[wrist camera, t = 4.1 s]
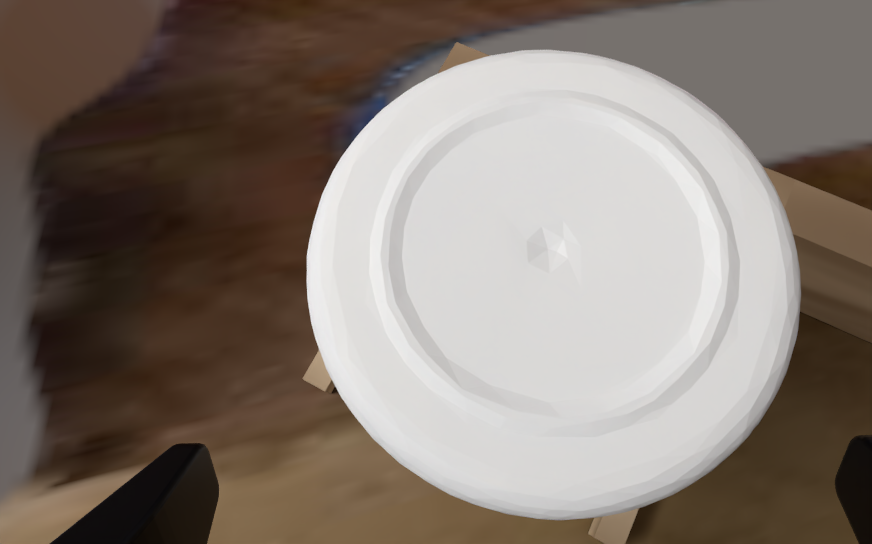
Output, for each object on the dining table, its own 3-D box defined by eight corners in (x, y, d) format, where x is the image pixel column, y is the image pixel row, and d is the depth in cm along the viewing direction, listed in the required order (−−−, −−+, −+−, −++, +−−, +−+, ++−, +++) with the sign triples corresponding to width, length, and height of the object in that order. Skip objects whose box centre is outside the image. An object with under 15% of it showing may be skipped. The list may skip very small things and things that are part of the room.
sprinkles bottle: (541, 308, 19) (721, -10, 6) (578, 454, 17) (921, 464, 4) (401, 335, 19) (268, 75, 6) (427, 484, 17) (330, 584, 4)
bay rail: (1398, 1016, 13) (1786, 1250, 9) (293, 403, 18) (247, 391, 14) (1421, 531, 16) (1727, 558, 12) (457, 117, 21) (456, 42, 17)
